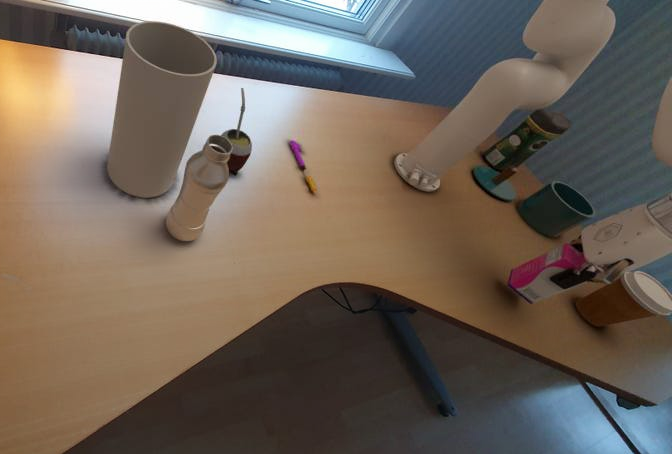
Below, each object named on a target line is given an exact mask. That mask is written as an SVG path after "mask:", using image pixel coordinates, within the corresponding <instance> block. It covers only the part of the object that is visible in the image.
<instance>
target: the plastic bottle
mask: <svg viewBox="0 0 672 454" xmlns="http://www.w3.org/2000/svg"><path fill="white" fill-rule="evenodd" d="M232 150H233V146H232V144H231V142H230V141H229V140H228V139H226V138H225V137H223V136H221V134H211V135H209V136H208V137H207V138H206V141H205V143H204V144H203V145H202V149H201V150H199V151H197V152H195V153H193V154H192V155H191V156H190V157H189V158H188V160H187V161H186V164H185V167H184V172H183V178H182V183H181V187H180V190H179V193H178V195H177V197H176V199H175V201H174V202H173V204H172V206H171V207H170V208H169V210H168V211H167V214H166V221H165V225H166V228H167V231H168V233H169V234H170V235H171V236H172V237H173V238H174V239H176V240H178V241H181V242H191V241H194V240H196V239H197V238H198V237H199V236H200V235H201V234H202V233H203V231H204V228H205V225H206V220H207V217H208V213H209V211H210V208H211V207H212V205H213V203H214V202H215V200H216V199H217V197H218V196H219V194H220V193H221V192H222V191H223V190H224V189H225V187H226V185H227V184H228V182H229V175H230V172H229V169H228V165H227V162H228V160H229V158H230V154H231V152H232Z"/></svg>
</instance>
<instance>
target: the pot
mask: <svg viewBox="0 0 672 454" xmlns="http://www.w3.org/2000/svg"><path fill="white" fill-rule="evenodd" d="M517 210H518V212H519V214H520V216H521V217H522V218H523V220H524V221H525V222H526V223H527V224H528V225H529V226H530V227H531V228H532V229H534V231H536V232H538V233H540V234H541V235H544V236H546V237H549V238H556V237H559V236H562V235H564V234H565V233H567V232H569V231H571V230H573V229H575V228H576V227H579V226H580V225H582V224H584V223H586V222H588V221H590V220H591V219H594V218H595V217H596V216H597V212H596V209H595V208H594V206H593V205H592V203H591V202H590V201H589V200H588V198H586V197H585V195H583V193H581V192H580V191H578V190H577V189H575V188H574V187H572V186H571V185H569V184H567V183H565V182H562V181H560V180H553V181H551V182H549V183H548V184H546V185H545V186H543V187H542V188H540V189H538V190H537V191H536V192H534V193H532V194H531V195H528V197H527V198H524V199H523V200H521V201H520V202H518V204H517Z"/></svg>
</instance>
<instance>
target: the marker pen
mask: <svg viewBox="0 0 672 454" xmlns="http://www.w3.org/2000/svg"><path fill="white" fill-rule="evenodd" d="M289 145H290V147H291V150H292V151H293V153H294V155H295V157H296V160H297V162H298V164H299V167H300V168H301V170H302V171H304V173H305V175H306V178H305V181H306V183H307V184H308V186H309V188H310V190H311V191H310V192H312V193H313V194H314V195H317V194H318V193H317V188H316V186H315V184H314V181H313V178H312V176H309V175H308V173H307V171H306V170H307V167H306V164H305V162H304V160H303V157H302V155H301V153H300V152H302V151H303V150H302V147H301V145H300V144H298V143H297V141H295V140H290V142H289Z"/></svg>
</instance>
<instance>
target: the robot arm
mask: <svg viewBox="0 0 672 454" xmlns="http://www.w3.org/2000/svg"><path fill="white" fill-rule="evenodd" d="M609 2H610V0H542V2H541V3H540V4H539V6H538V7H537V9H536V10H535V12H534V14H532V16H531V18H530V19H529V20H528V22H527V23H526V25H525V27H524V29H523V33H522V43H523V44H524V46H525V47H526V48H527V49H529V50H531V51H533V52H535V53H536V54H535V55H534V56H533V58H531V59H530V58H524V57H514V58H513V57H512V58H508V59H505V60H502V61H499V62H498V63H495V64H494V65H492V66H491V67H489V68H488V69H487V70H486V71H484V72H483V74H482V75H481V76H480V77H479V78H478V80H477V81H476V82H475V84H474V85H473V86H472V88H471V89H470V90H469V92H467V94H466V95H465V96H464V98H462V100H461V101H460V102H459V103H458V104H457V105H456V106H455V107H454V108H453V109H452V110H450V112H449V113H448V114H447V115H446V116H445V117H444V118H443V119H442V120H441V121H440V122H439V123H438V124H437V125H436V126H435V127H434V128H433V129H432V130H431V131H430V132H429V133H428V134H427V135H426V136H425V137H424V138H423V139H422V140H421V141H420V142H419V143H418V144H417V145H416V146H415V147H414V148H412V150H410V152H409V153H405V152H404V153H399V154H398V155H397V156H396V157H395V159H394V161H393V163H394V164H393V165H394V168H395V170H396V172H397V174H399V176H400V177H401V178H402V179H403V180H404V181H405V182H406V183H408V184H409V185H410V186H411V187H413V188H415V189H417V190H419V191H422V192H427V193H432V192H435V191H436V190H437V189H439V188H440V186H441V178H442V177H443V176H444V175H445V174H446V173H448V172H449V171H450V170H451V169H452V168H454V166H456V165H457V164H459V163H460V162H461V161H462V160H464V159H465V158H466V157H467V156H469V154H470V153H472V152H473V151H474V150H475V149H476V148H478V147H479V146H480V145H481V144H482V143H483V142H484V141H485V140H488V138H489V137H490V136H491V135H493V134H494V133H495V132H496V131H497V130H498V129H499V128H500V127H501V126H502V125H503V123H505V121H506V119H507V118H508V117H509V116H510V115H511V114H512V113H513V112H514V111H517V110H518V111H519V110H520V111H521V110H522V111H536V110H537V109H546V108H547V107H549V106H551V105H553V104H554V103H556V102H557V101H559V99H561V98H562V97H563V96H564V95H565V94H566V93H567V92H568V91H569V89H570V88H571V87H572V86H573V85H574V83H575V82H576V81H577V80H578V79H579V77H580V76H581V75H582V74H583V73H584V71H585V70H586V69H587V68H588V67H589V65H590V64H591V63H592V62H593V61H594V60H595V59H596V57H597V56H598V55H599V54H600V52H601V51H602V50H604V48H605V46H606V45H607V44H608V42H609V40H610V39H611V38H612V35H613V33H614V30H615V27H616V16H615V15H616V14H615V13H614V11H613V10H612V9H611V8H610V6H608V5H607V4H608V3H609ZM654 122H655V123H654V126H653V132H652V136H651V148H652V152H653V154H654V156H655V157H656V158H657V159H658V161H659V162H661V163H663V164H664V165H667V166H669V167H672V75H671V76H670V78H669V80H668V81H667V84H666V86H665V89H664V91H663V94H662V96H661V100H660V103H659V107H658V109H657V114H656V118H655V121H654ZM569 244H570V245H571V246H573V247H574V248H575V249H577V250H578V251H580V252H581V253H582V254H584V257H585V259H586V262H585V263H583V264H582V265H580V266H579V267H578V268H576V269H575V270H574V269H572V268H570V269H568V270H565V271H563V272H561V273H558V274H556V275H553V276H551V277H550V281H551V282H553V283H554V284H556V285H557V286H559V287H560V288H562V289H568V288H570V287H573V286H576V285H578V284H581V283H584V282H586V281H587V283H588V284H589V283H595V284H604V285H607V284H611V283H612V282H613V281H615V280H617V279H618V277H619V276H620V275H624V273H626V272H632V271H634V270H636V269H639V268H641V267H644V266H646V265H648V264H651V263H653V262H656V261H657V260H660V259H661V258H664V257H665V256H668V255H670V254H672V192H670V193H667V194H665V195H663V196H662V197H661V196H660V197H659V198H657V199H655V200H653V201H651V202H645V203H642V204H639V205H636V206H632V207H630V208H627V209H625V210H621V211H620V212H617V213H614V214H612V215H610V216H607V217H604V218H603V219H601V220H598V221H596V222H594V223H591V224H589V225H588V226H586V227H584V228H583V229H582V230H581V232H580V235H579V236H578V237H577V238H576V239H572V240H571V241H570V242H569ZM602 265H603V266H602ZM592 266H593V267H595V269H596V270H595V271H594V272H592V271H586V270H588V269H589V268H591V267H592ZM584 284H585V283H584Z"/></svg>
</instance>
